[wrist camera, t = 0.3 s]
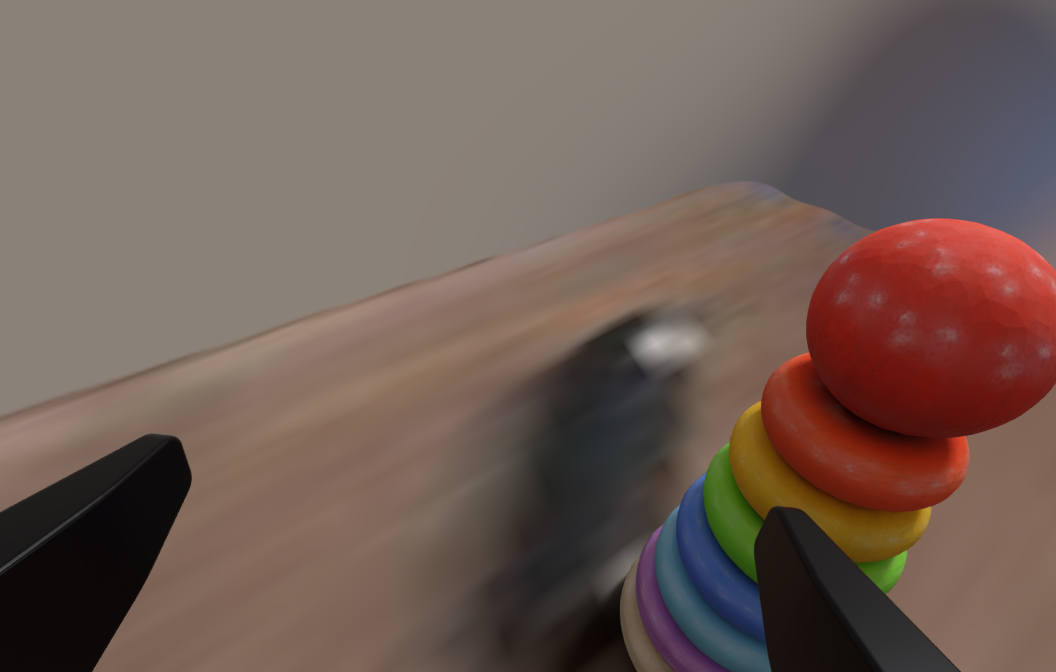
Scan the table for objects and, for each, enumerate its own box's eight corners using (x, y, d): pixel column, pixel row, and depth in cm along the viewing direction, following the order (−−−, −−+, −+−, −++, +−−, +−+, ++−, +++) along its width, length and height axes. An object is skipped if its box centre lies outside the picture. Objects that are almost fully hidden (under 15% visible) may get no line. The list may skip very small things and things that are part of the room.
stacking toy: (652, 770, 20) (932, 361, 8) (595, 558, 26) (710, 152, 14) (855, 734, 21) (1337, 340, 10) (755, 541, 27) (977, 157, 16)
